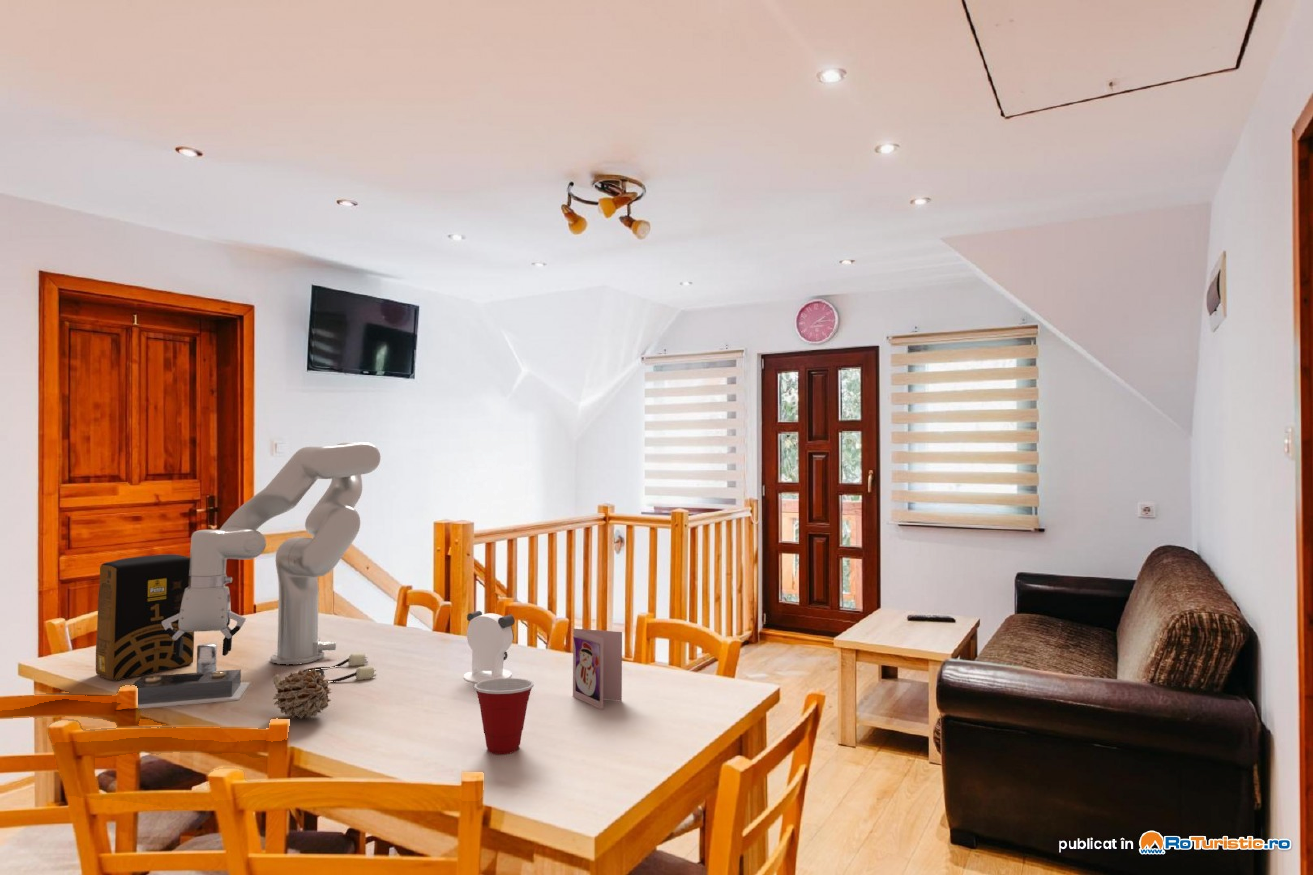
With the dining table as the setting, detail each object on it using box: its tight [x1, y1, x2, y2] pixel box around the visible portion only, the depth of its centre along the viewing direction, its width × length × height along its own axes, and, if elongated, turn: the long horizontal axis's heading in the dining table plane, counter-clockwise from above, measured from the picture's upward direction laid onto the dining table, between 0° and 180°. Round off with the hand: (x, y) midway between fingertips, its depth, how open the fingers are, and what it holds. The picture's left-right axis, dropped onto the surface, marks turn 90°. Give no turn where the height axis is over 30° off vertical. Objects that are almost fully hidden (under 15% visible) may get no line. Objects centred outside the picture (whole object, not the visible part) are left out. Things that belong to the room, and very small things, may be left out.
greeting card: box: [572, 628, 623, 711], centre depth 164 cm, size 11×7×15 cm, turn 40°
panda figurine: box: [463, 610, 515, 684], centre depth 182 cm, size 12×11×15 cm
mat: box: [137, 681, 251, 710], centre depth 165 cm, size 23×12×1 cm, turn 108°
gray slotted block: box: [131, 668, 242, 705], centre depth 165 cm, size 20×9×4 cm, turn 108°
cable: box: [302, 653, 377, 683], centre depth 182 cm, size 16×16×4 cm
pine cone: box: [272, 669, 333, 719], centre depth 154 cm, size 22×10×10 cm, turn 53°
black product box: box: [95, 553, 195, 682], centre depth 185 cm, size 11×19×28 cm, turn 147°
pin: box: [196, 642, 218, 673], centre depth 178 cm, size 4×4×8 cm
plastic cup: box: [473, 677, 535, 755], centre depth 137 cm, size 11×11×12 cm
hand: (202, 655), depth 177 cm, fingers open, 9 cm apart
